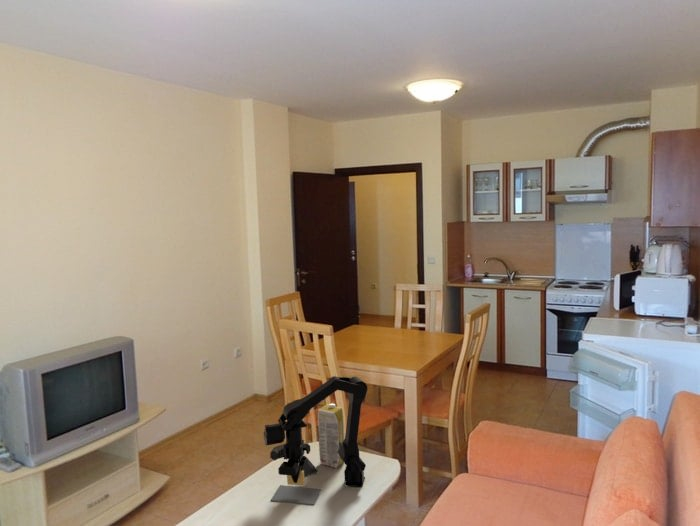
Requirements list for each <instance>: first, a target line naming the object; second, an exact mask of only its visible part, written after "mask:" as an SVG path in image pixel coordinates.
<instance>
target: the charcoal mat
mask: <svg viewBox="0 0 700 526" xmlns="http://www.w3.org/2000/svg"><path fill="white" fill-rule="evenodd" d="M321 492H322V488H319V487H307V486H306V487H305V486H297V485H284V484H280V485H279V486H278V488H277V489H276V491H275V492H274V494H273V496H272V497H271V499H270V502H275V503H289V504H295V505H297V504H298V505H306V506H307V505H310V506H315V504H316V502H317V500H318V499H319V496H320V494H321Z"/></svg>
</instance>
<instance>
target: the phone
mask: <svg viewBox="0 0 700 526" xmlns="http://www.w3.org/2000/svg"><path fill="white" fill-rule="evenodd" d="M303 457H305V458H306V461H305V463H304V466H303V469H302V470H304V478H305V477H306V478H307V477H309V476H312V475H316V474H317V475H318V473H319V471H318V469H317V468H316V467H315V465H314V464H313V463H312V461H311V460H310V459H309V458H308V457H307V456H306V455H303ZM288 460H289V459H287V461H288Z"/></svg>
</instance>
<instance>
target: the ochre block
mask: <svg viewBox="0 0 700 526" xmlns="http://www.w3.org/2000/svg"><path fill="white" fill-rule="evenodd" d="M286 479H287V480H286V482H287V485H288V486H300V487H305V483H306V481H305V477H304V470H301V471H300V474H299V478H298V481H297V483H294V482H293V479H292V477H291V475H286Z"/></svg>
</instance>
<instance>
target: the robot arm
mask: <svg viewBox="0 0 700 526" xmlns="http://www.w3.org/2000/svg"><path fill="white" fill-rule="evenodd" d="M368 389H369V388H368V385H367V383H366V382H365V381H363V380H362V379H361V378H360V377H359V376H352V377H347V376H336V375H335V376H331V377H330V378H329V380H327V381H325V382H324V383H323V384H321V385H320V386H318V387H317V388H315V389H314V390H313V391H312V392H311V391H310V392H309V393H308V394H307V395H305V396H304V397H302V398H299V399H296V400H292V401H291V402H288V403H287V404H285V405H284V407H283V410H282V414H281V415H280V417H279V418H278V420H277V423H275V424H274V423H273V424H265V425H264V429H263V440H264V445H265V446H266V447H267V446H273V445H277V446H274V447H273V448H272V450H271V451H270V452H269V458H270V459H271V460H273V461H274V462H275V461H277V460H280V459H283V460H285V461H283V462H282V463H280V465H279V467H278V468H277V469H278V475H280V476H281V475H283V476H287V475H291V477H292V479H293V482H294V483H297V481H298V478H299V474H300V471H301V470H302V469H303V466H304V463H305V461H306V458H305V457H303V456H305V454H306V455H309V454H310V452H311V445H310V444H308V443H305V440H304V439H303V431H302V429H303V428H307V427H308V424H307V423H306V421H304V419H305V417H306V416H307V415H308V413H309V412H310V411H311V410H312V409H314V408H315V406H317V405H318V404H320V403H322V402H323V401H324V400H325V399H327V398H328V397H330V396H331V395H332V394H334V393H335V392H337V391H341V392H344V393H345V392H346V393H347V399H348V408H347V409H348V410H347V418H346V427H345V433H344V441H343V442H339V450H338V453H339V456H340V458H341V459H342V461H343V463H344V464H345V469H344V471H343V473H344V482H345V483H344V486H348V487H358V488H359V487H360V488H362V487H363V486H364V483H365V480H366V476H365V469H366V466H367V465H366V462H365V461H364V460H363V459H362V458H361V457H360V449H359V445H358V439H359V438H358V436H359V429H360V428H359V427H360V419H361V411H362V404H363V402H364V401H365V399H366V397H367V393H368ZM283 442H285V443H283ZM278 444H280V445H278ZM305 452H306V453H305ZM288 459H289V460H288ZM286 460H287V461H286Z"/></svg>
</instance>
